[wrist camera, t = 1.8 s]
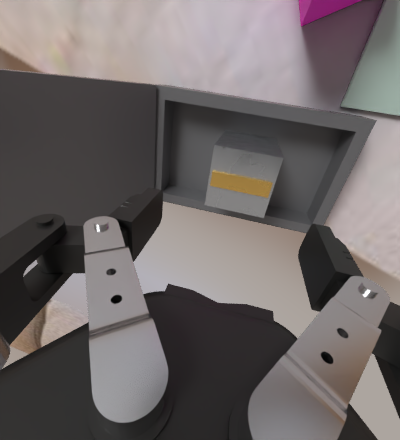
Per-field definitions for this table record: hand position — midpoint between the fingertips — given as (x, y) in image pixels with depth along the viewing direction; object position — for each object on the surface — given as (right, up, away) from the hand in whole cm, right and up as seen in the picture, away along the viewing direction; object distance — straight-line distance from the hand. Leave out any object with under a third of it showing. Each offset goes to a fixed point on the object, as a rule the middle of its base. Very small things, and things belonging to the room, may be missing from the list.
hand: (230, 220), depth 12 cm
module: (+3, +6, +11) cm, 13 cm away
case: (0, +7, +12) cm, 14 cm away
